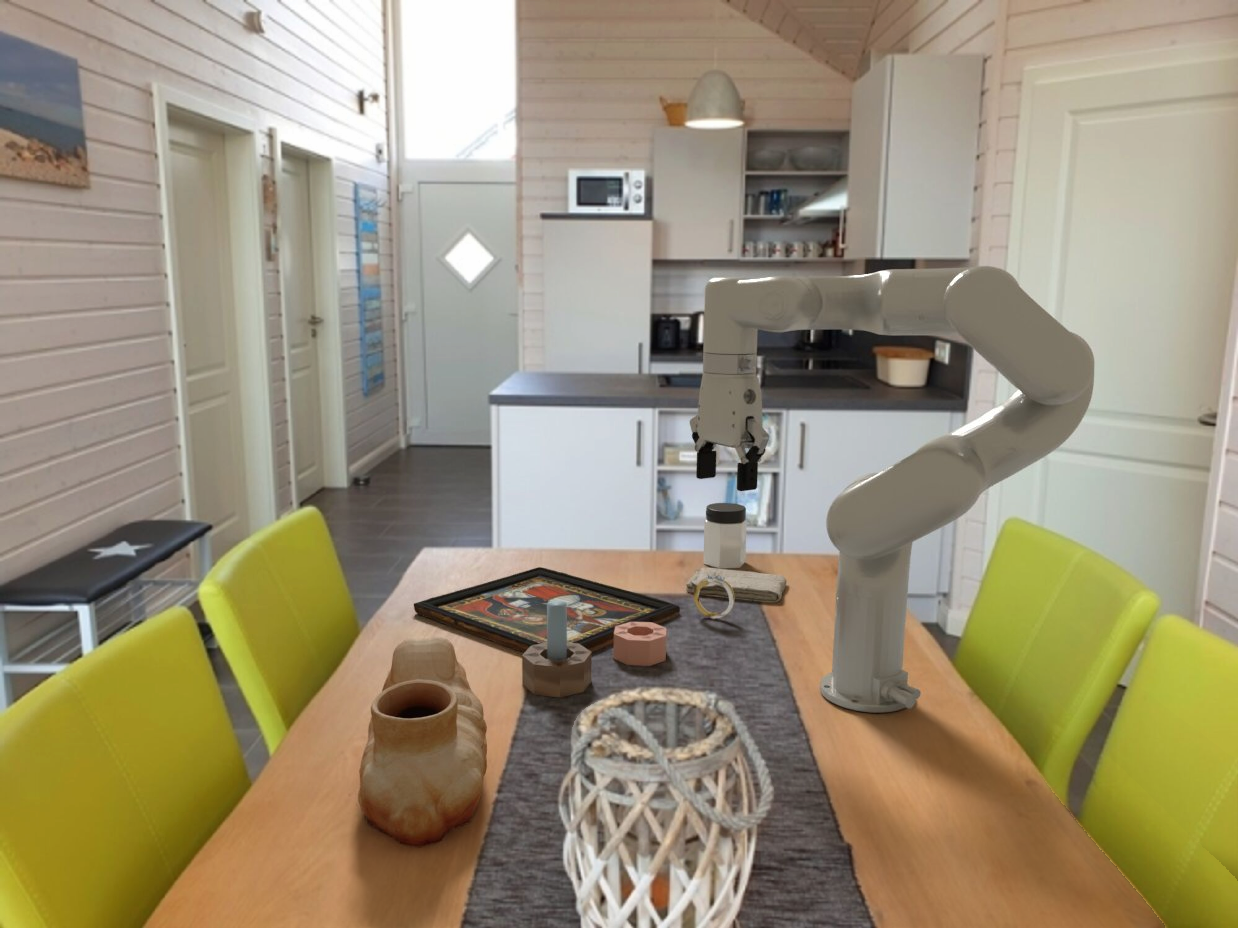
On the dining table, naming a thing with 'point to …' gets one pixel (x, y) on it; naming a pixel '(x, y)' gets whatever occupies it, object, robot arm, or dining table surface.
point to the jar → (725, 535)
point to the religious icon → (543, 609)
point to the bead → (556, 671)
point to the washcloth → (740, 584)
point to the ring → (713, 580)
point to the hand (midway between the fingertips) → (725, 483)
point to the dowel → (556, 630)
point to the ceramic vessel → (423, 746)
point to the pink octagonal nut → (640, 643)
